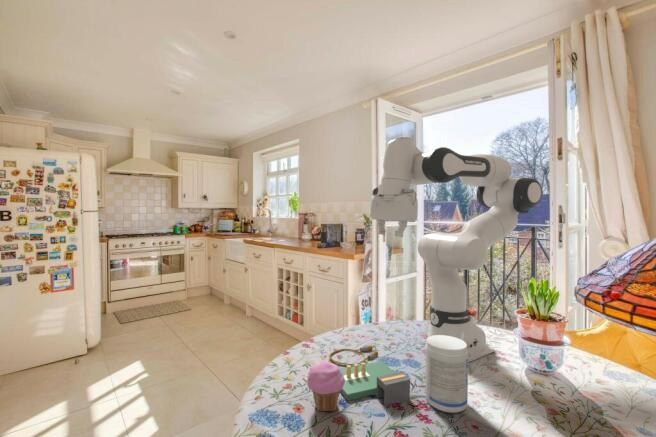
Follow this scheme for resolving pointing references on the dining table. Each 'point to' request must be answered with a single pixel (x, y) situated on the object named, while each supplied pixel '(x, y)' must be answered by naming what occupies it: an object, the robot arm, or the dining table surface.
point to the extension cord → (364, 349)
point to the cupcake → (325, 385)
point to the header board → (362, 379)
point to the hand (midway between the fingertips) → (389, 235)
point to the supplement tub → (446, 373)
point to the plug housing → (393, 388)
